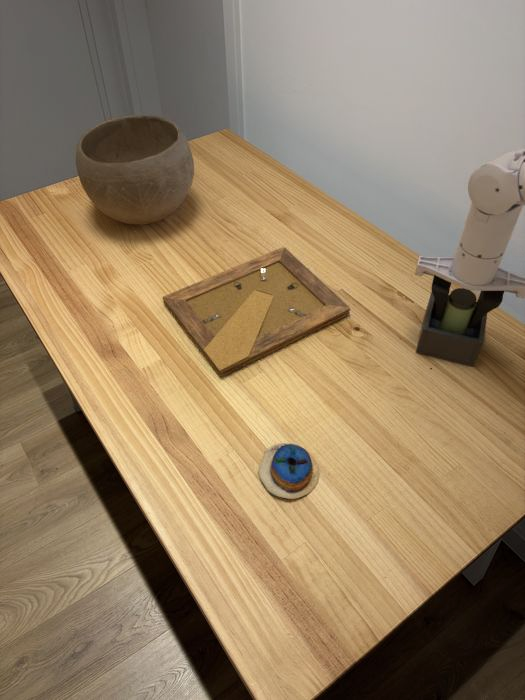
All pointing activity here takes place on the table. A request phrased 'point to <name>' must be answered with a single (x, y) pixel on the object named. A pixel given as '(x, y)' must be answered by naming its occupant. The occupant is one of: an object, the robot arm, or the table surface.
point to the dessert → (288, 471)
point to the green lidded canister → (458, 311)
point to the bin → (450, 339)
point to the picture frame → (254, 309)
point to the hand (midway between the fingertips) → (455, 319)
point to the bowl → (135, 167)
